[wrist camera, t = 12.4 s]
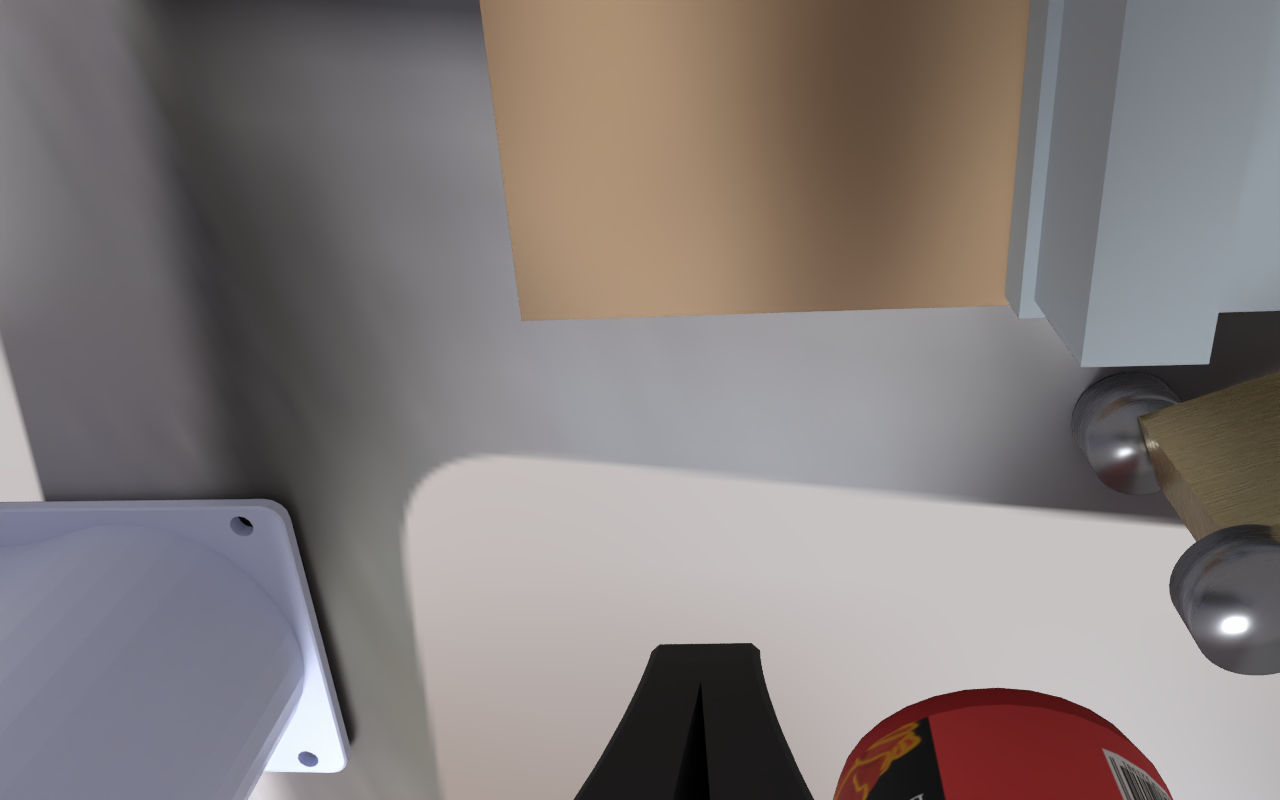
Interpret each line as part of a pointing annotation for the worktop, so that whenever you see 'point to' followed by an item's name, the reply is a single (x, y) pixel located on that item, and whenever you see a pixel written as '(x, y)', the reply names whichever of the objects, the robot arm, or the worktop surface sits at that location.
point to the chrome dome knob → (1120, 429)
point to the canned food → (997, 753)
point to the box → (756, 153)
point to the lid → (1147, 175)
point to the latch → (1225, 518)
